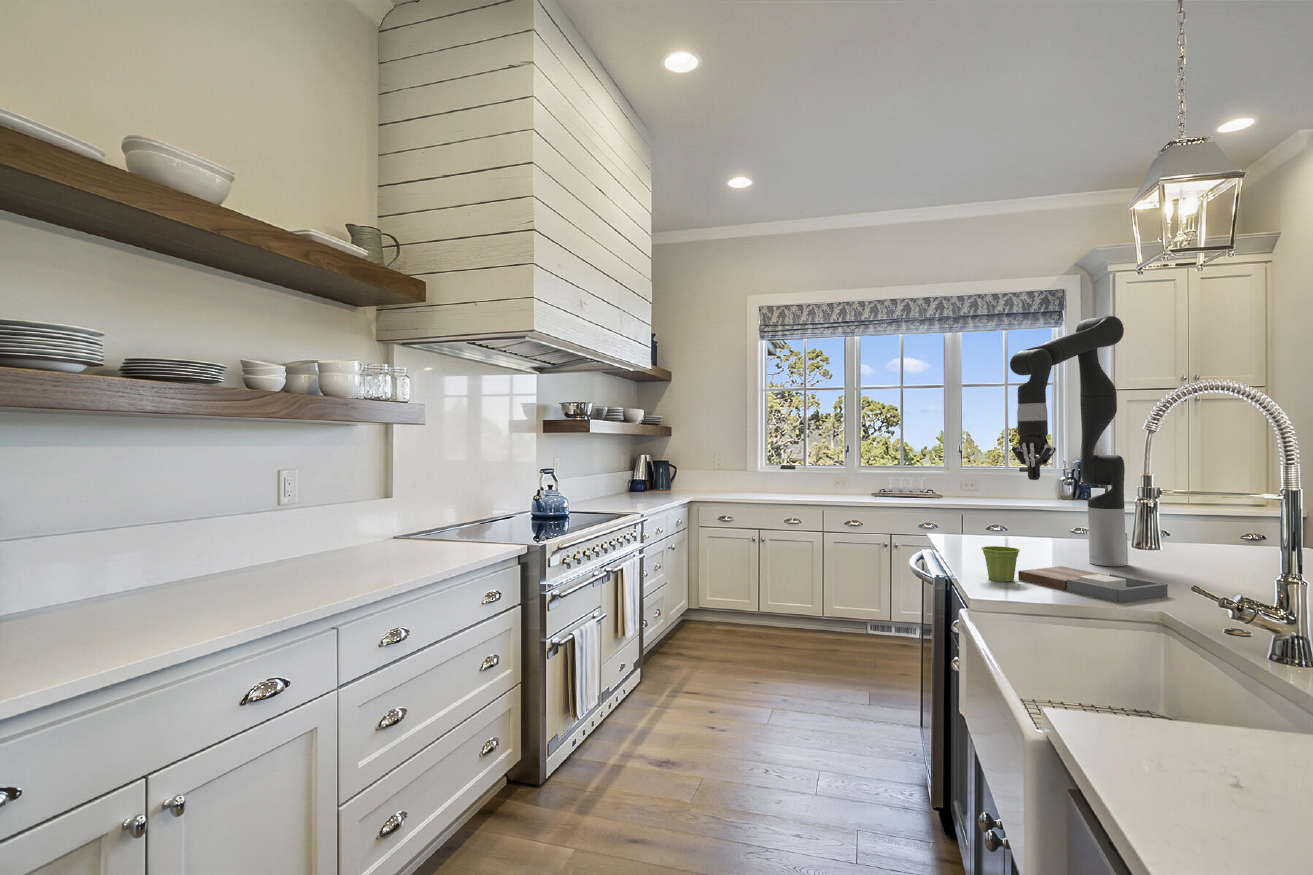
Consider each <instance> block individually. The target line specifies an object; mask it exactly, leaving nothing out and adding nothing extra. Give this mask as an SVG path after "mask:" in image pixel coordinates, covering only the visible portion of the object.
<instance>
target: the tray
mask: <svg viewBox="0 0 1313 875" xmlns="http://www.w3.org/2000/svg"><path fill="white" fill-rule="evenodd" d="M1109 575H1110V576H1111V577H1116V578H1122V579H1126V588H1121V589H1116V588H1112V587H1107V586H1102V585H1097V584H1092V583H1087V582H1083V581H1078V580H1073V579H1067V588H1066V592H1069V593H1073V594H1079V595H1083V596H1087V597H1089V598H1090V597H1091V598H1096V599H1100V600H1104V601H1109V602H1113V603H1117V604H1125V603H1131V602H1132V603H1133V602H1140V601H1145V600H1146V601H1147V600H1154V599H1162V598H1168V597H1169V596H1168V595H1169V594H1168V584H1167V583H1162V582H1158V581H1153V580H1146V579H1141V578H1136V577H1131V576H1126V575H1120V574H1115V573H1111V574H1109Z"/></svg>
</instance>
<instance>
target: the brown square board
mask: <svg viewBox="0 0 1313 875" xmlns="http://www.w3.org/2000/svg"><path fill="white" fill-rule="evenodd" d="M1017 574H1018V575H1017V576H1018V577H1017V578H1018V581H1020V582H1021V581H1022V582H1027V583H1030V584H1034V585H1039V586H1044V587H1048V588H1051V589H1055V590H1061V591H1066V588H1067V579H1073V580H1078V581H1079V576H1087V575H1096V574H1101V575H1106V576H1110V574H1104V573H1098V572H1094V571H1089V570H1085V569H1077V568H1072V567H1067V566H1061V565H1060V566H1052V567H1042V568H1034V569H1033V568H1032V569H1025V570H1018V573H1017ZM1066 592H1067V591H1066Z"/></svg>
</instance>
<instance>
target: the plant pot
mask: <svg viewBox="0 0 1313 875" xmlns="http://www.w3.org/2000/svg"><path fill="white" fill-rule="evenodd" d="M981 550H982V551H983V553H982V554H983V555H984V557H985V558H984V559H985V564H986V568H987V576H988V579H989V580H993V581H994V582H1000V583H1001V582H1002V583H1006V582H1008V581H1009V582H1014V581H1015V574H1016V566H1017V558H1018V557H1019V552H1020V551H1021V549H1019V548H1017V547H1011V546H1001V545H999V546H998V545H990V546H989V545H987V546H982V547H981Z"/></svg>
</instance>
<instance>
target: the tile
mask: <svg viewBox="0 0 1313 875" xmlns="http://www.w3.org/2000/svg"><path fill="white" fill-rule="evenodd" d="M1101 574H1102V573H1100V574H1096V575H1087V576H1079V581H1083V582H1087V583H1092V584H1097V585H1102V586H1107V587H1112V588H1116V589H1121V588H1126V579H1122V578H1116V577H1111V576H1106V575H1107V574H1105V575H1101Z"/></svg>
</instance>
